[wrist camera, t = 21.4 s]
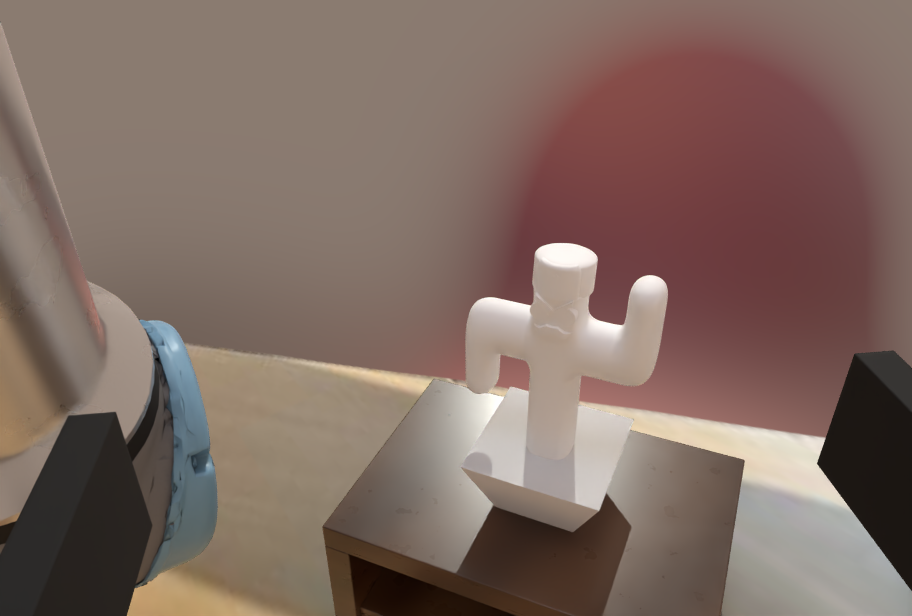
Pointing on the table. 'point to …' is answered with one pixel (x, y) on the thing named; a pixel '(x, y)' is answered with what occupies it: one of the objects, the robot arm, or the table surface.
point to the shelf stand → (527, 530)
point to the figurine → (557, 388)
